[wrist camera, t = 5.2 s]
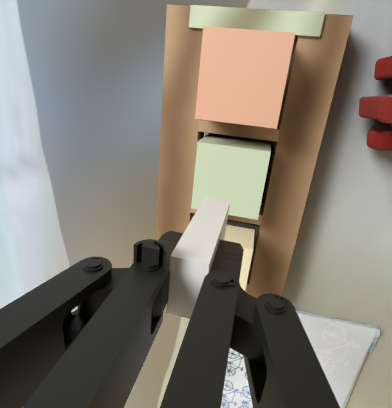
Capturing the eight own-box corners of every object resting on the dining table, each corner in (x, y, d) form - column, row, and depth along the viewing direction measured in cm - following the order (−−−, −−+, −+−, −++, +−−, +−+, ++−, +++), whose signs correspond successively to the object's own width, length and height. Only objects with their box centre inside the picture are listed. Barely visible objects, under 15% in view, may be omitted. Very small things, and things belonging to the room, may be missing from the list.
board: (343, 24, 24) (354, 14, 21) (278, 286, 34) (280, 305, 31) (177, 13, 26) (165, 3, 23) (162, 261, 36) (152, 277, 33)
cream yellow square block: (254, 229, 28) (253, 250, 25) (244, 280, 31) (242, 306, 27) (194, 218, 29) (184, 236, 26) (189, 269, 32) (179, 292, 28)
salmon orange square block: (290, 42, 22) (295, 32, 19) (275, 123, 25) (276, 128, 21) (213, 36, 23) (203, 26, 20) (204, 114, 26) (194, 118, 22)
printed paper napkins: (207, 286, 36) (204, 297, 34) (383, 323, 33) (390, 338, 31) (194, 391, 44) (190, 405, 42) (337, 430, 40) (341, 448, 38)
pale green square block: (270, 143, 27) (270, 151, 23) (258, 204, 29) (257, 219, 26) (206, 135, 28) (197, 141, 24) (199, 194, 30) (191, 208, 27)
